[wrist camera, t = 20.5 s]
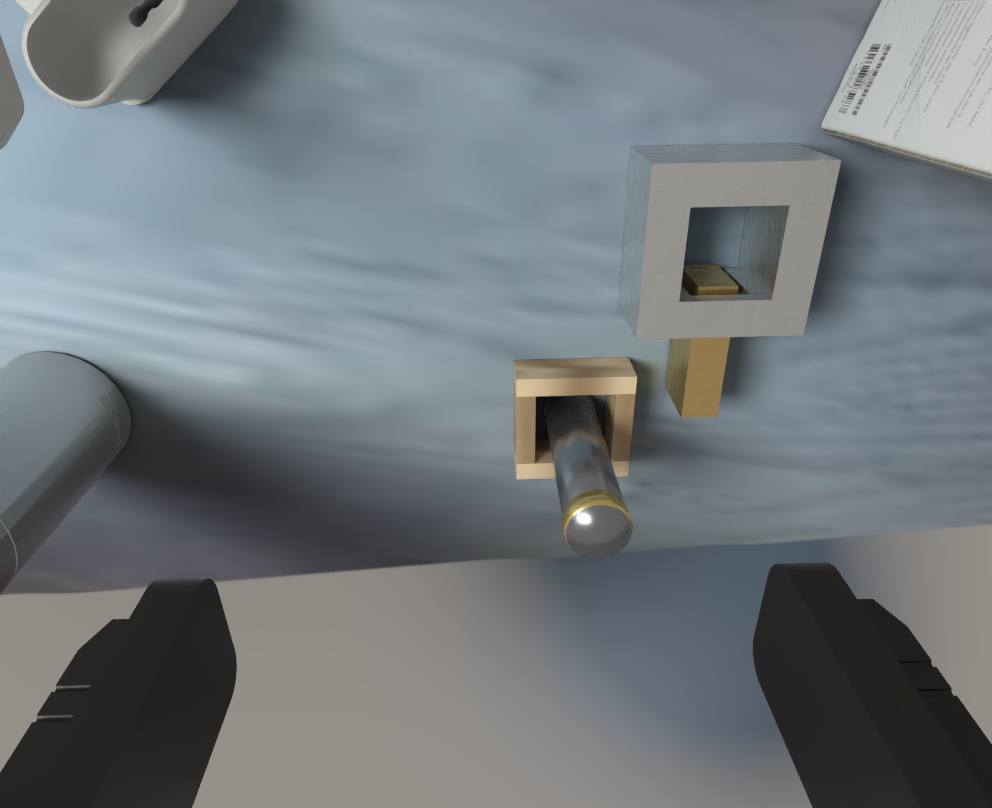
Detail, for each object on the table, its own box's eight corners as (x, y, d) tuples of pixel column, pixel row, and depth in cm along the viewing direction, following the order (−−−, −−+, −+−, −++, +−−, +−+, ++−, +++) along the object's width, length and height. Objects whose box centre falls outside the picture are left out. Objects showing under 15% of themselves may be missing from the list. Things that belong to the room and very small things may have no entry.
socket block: (618, 303, 46) (636, 339, 41) (629, 146, 41) (652, 164, 36) (766, 300, 46) (803, 335, 41) (795, 142, 41) (841, 160, 36)
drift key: (665, 387, 49) (681, 417, 45) (679, 264, 45) (698, 286, 41) (698, 386, 49) (717, 416, 45) (716, 263, 45) (738, 286, 41)
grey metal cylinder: (542, 431, 51) (563, 560, 39) (543, 386, 49) (565, 506, 37) (593, 430, 51) (630, 559, 39) (596, 384, 49) (636, 504, 37)
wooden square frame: (514, 456, 52) (516, 479, 49) (514, 360, 48) (516, 379, 45) (620, 453, 52) (627, 476, 49) (628, 357, 48) (637, 376, 45)
